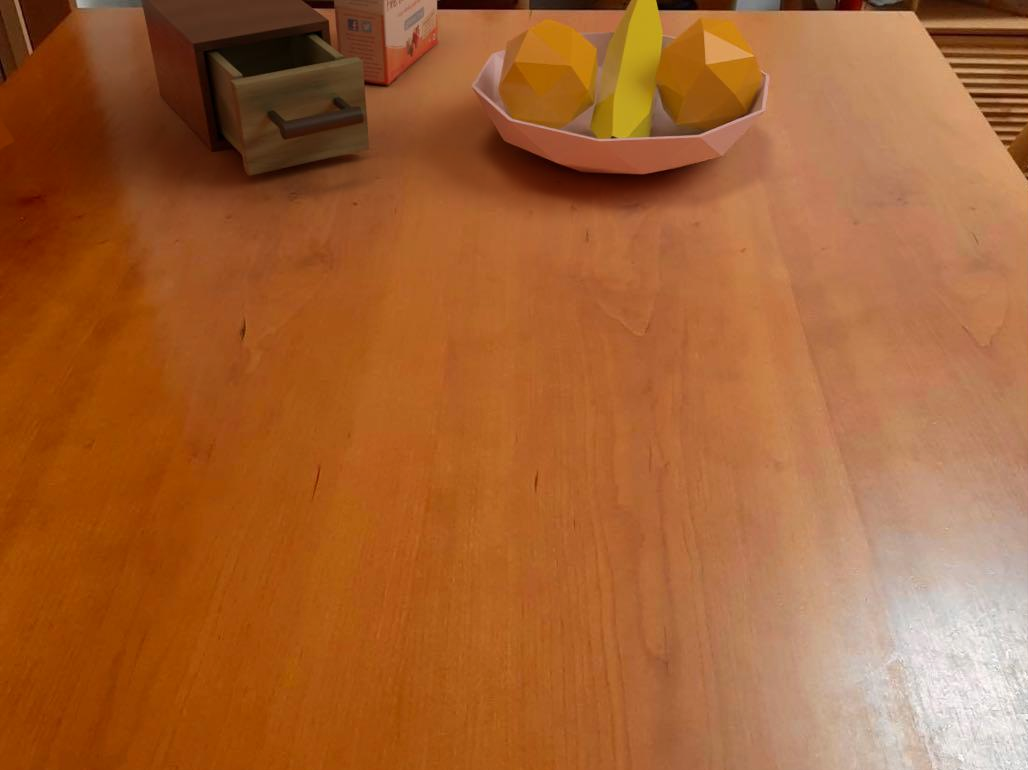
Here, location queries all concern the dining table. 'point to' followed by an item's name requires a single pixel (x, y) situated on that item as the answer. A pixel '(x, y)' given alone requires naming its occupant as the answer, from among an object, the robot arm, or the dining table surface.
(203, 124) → the cabinet
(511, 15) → the dining table surface
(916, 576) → the dining table surface
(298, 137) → the drawer
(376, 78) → the cracker box
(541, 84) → the fruit bowl
